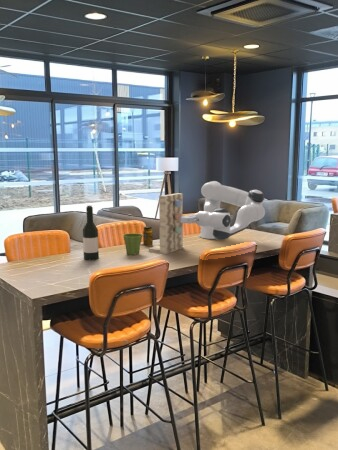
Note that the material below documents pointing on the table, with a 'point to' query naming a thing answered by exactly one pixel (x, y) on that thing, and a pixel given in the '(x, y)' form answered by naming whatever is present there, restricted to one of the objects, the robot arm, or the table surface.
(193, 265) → the table surface
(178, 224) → the tall patterned box
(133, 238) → the plant pot
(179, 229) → the sage button
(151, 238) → the condiment
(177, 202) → the slate button
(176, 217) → the terracotta button
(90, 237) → the wine bottle
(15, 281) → the table surface
